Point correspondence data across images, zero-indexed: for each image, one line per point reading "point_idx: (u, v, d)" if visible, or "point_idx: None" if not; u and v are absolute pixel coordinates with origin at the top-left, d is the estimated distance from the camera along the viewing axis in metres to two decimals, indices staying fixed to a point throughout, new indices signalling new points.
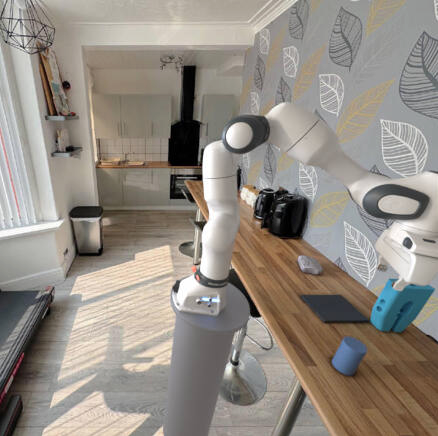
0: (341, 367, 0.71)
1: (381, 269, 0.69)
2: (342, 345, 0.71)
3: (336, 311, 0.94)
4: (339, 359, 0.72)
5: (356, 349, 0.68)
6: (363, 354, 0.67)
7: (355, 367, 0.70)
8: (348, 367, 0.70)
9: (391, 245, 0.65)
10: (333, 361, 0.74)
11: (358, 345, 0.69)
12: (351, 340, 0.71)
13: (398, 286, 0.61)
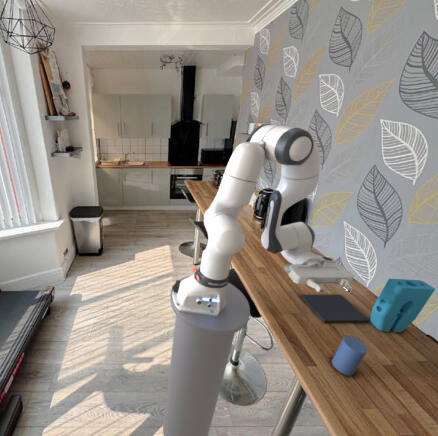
0: (341, 367, 0.71)
1: None
2: (342, 345, 0.71)
3: (336, 311, 0.94)
4: (339, 359, 0.72)
5: (356, 349, 0.68)
6: (363, 354, 0.67)
7: (355, 367, 0.70)
8: (348, 367, 0.70)
9: (310, 269, 0.84)
10: (333, 361, 0.74)
11: (358, 345, 0.69)
12: (351, 340, 0.71)
13: None
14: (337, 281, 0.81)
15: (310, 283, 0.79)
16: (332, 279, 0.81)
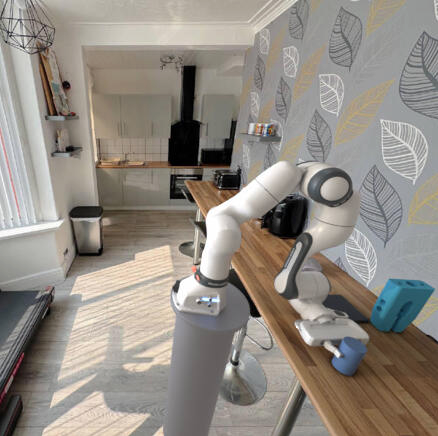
0: (341, 367, 0.71)
1: None
2: (342, 345, 0.71)
3: None
4: (339, 359, 0.72)
5: (356, 349, 0.68)
6: (363, 354, 0.67)
7: (355, 367, 0.70)
8: (348, 367, 0.70)
9: (323, 327, 0.78)
10: (333, 361, 0.74)
11: (358, 345, 0.69)
12: (351, 340, 0.71)
13: None
14: None
15: (328, 346, 0.73)
16: None
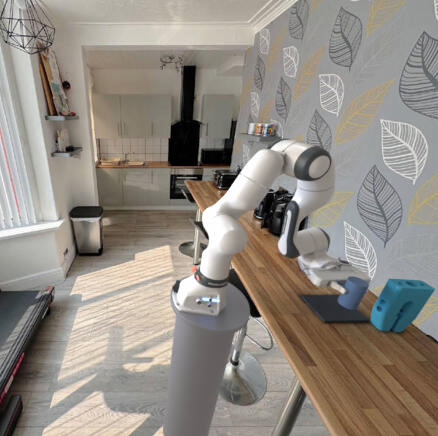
0: (346, 303, 0.81)
1: None
2: (347, 283, 0.81)
3: (336, 311, 0.94)
4: (344, 296, 0.82)
5: (359, 284, 0.78)
6: (365, 288, 0.77)
7: (358, 301, 0.79)
8: (352, 301, 0.80)
9: (330, 272, 0.88)
10: (339, 299, 0.84)
11: (361, 282, 0.79)
12: (355, 279, 0.80)
13: None
14: None
15: (334, 285, 0.83)
16: None
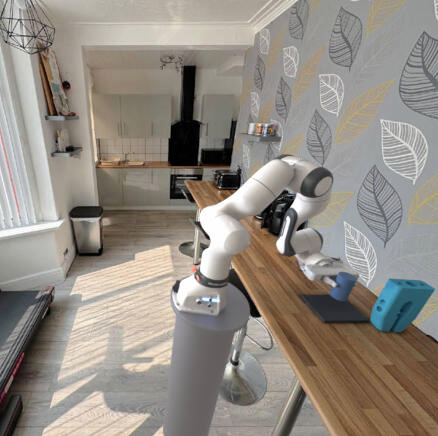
0: (337, 295, 0.92)
1: None
2: (337, 277, 0.91)
3: (336, 311, 0.94)
4: (335, 289, 0.92)
5: (348, 278, 0.88)
6: (353, 282, 0.88)
7: (347, 293, 0.90)
8: (342, 293, 0.90)
9: (323, 268, 0.98)
10: (330, 292, 0.94)
11: (350, 276, 0.89)
12: (345, 274, 0.91)
13: None
14: None
15: (327, 280, 0.93)
16: None
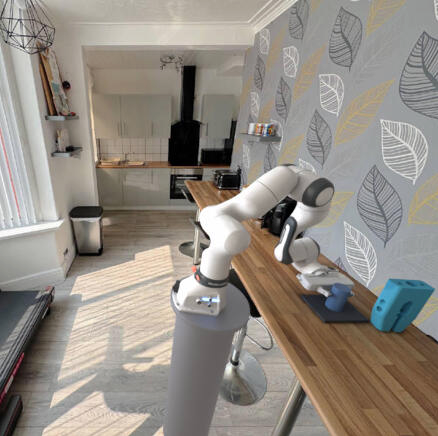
0: (332, 306, 0.94)
1: None
2: (332, 288, 0.93)
3: None
4: (330, 300, 0.94)
5: (343, 289, 0.91)
6: (348, 293, 0.90)
7: (342, 304, 0.92)
8: (337, 304, 0.92)
9: (319, 278, 1.00)
10: (326, 303, 0.96)
11: (345, 288, 0.92)
12: (339, 285, 0.93)
13: None
14: None
15: (319, 290, 0.95)
16: None
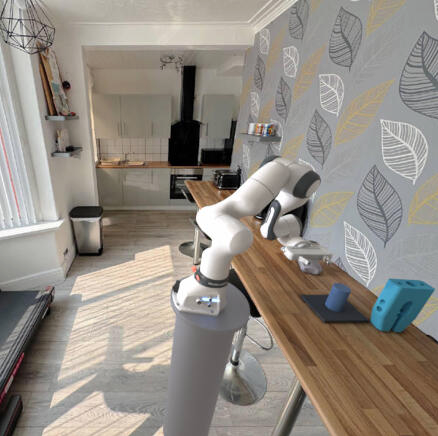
0: (332, 306, 0.94)
1: None
2: (332, 288, 0.93)
3: None
4: (330, 300, 0.94)
5: (343, 289, 0.91)
6: (348, 293, 0.90)
7: (342, 304, 0.92)
8: (337, 304, 0.92)
9: (301, 249, 1.09)
10: (326, 303, 0.96)
11: (345, 288, 0.92)
12: (339, 285, 0.93)
13: None
14: (320, 258, 1.07)
15: (300, 258, 1.04)
16: (316, 256, 1.07)
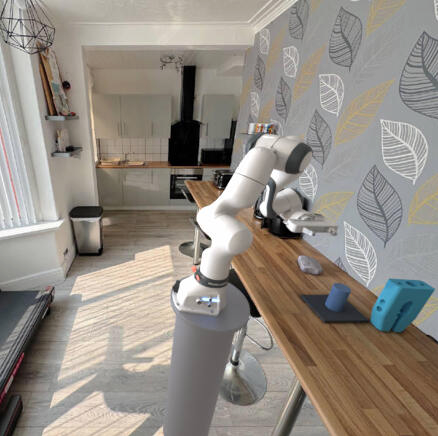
0: (332, 306, 0.94)
1: None
2: (332, 288, 0.93)
3: None
4: (330, 300, 0.94)
5: (343, 289, 0.91)
6: (348, 293, 0.90)
7: (342, 304, 0.92)
8: (337, 304, 0.92)
9: (304, 221, 1.03)
10: (326, 303, 0.96)
11: (345, 288, 0.92)
12: (339, 285, 0.93)
13: None
14: (325, 230, 1.01)
15: (304, 230, 0.98)
16: (321, 228, 1.01)
